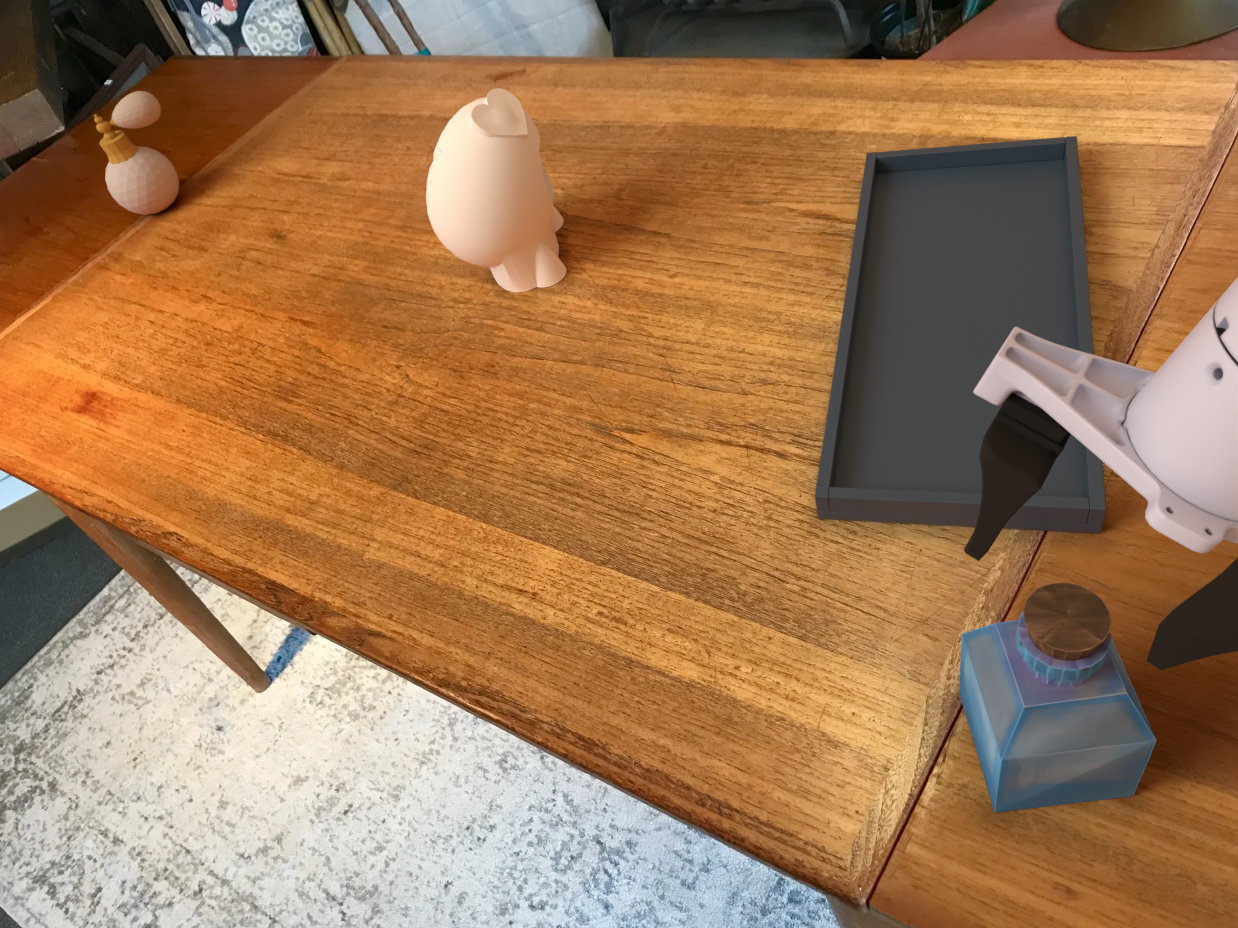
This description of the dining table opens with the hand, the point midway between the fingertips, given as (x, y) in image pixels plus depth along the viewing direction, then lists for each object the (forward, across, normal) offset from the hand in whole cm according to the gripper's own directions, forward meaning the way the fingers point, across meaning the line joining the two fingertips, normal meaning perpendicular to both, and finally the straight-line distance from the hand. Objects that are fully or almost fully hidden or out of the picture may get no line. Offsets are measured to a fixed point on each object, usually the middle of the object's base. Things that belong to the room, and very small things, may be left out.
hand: (1067, 592), depth 37 cm
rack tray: (+12, -10, +28) cm, 33 cm away
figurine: (+26, -46, +25) cm, 58 cm away
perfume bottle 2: (+12, +4, +1) cm, 13 cm away
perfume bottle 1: (+44, -95, +22) cm, 107 cm away
